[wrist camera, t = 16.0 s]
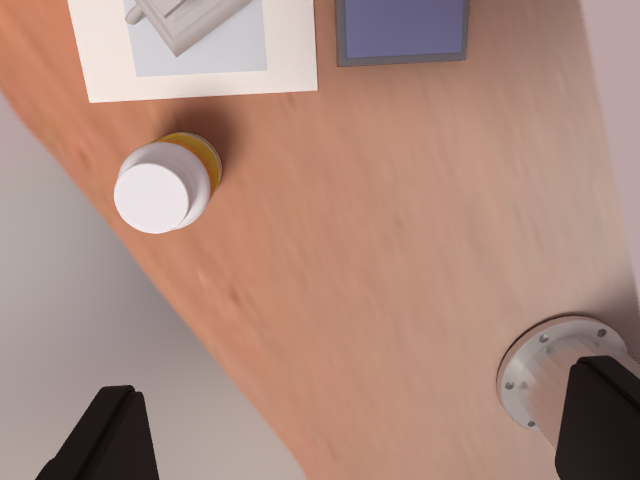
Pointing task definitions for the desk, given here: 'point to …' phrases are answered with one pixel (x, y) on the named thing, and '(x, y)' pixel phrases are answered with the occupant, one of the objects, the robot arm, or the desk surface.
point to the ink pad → (400, 31)
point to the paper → (196, 53)
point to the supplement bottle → (167, 182)
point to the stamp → (184, 19)
